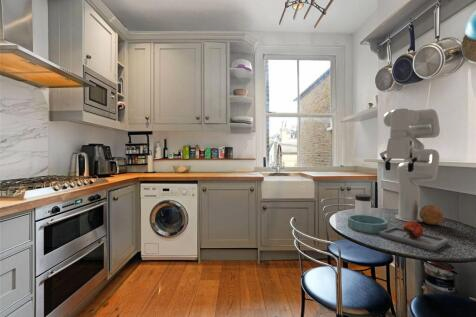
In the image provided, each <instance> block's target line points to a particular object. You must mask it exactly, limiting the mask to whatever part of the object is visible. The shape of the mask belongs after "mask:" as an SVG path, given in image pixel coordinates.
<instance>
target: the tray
mask: <svg viewBox="0 0 476 317" xmlns="http://www.w3.org/2000/svg"><path fill="white" fill-rule="evenodd" d="M378 234H379V235H378V236H379V237H381V238H385V239H388V240H392V241H395V242H398V243H400V244H406V245H409V246H413V247H416V248H419V249H422V250H427V251H430V252H432V253H433V252H436V251H438V250H439V249H441V248H443V247H445V246H446V245H449V239H448V238H445V237H442V236H441V237H440V236H436V235H432V234H427V233H424V232H423V235H422V236H421V237H420V238H414V237H411V236H409V235H407V236H405V235H406V234H407V232H406V231H405V230H404V229H403V228H402V227H398V226H392V227H389V228H387V229H386V230H383V231H380V232H379V233H378ZM404 236H405V237H404Z"/></svg>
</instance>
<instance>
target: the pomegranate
mask: <svg viewBox="0 0 476 317" xmlns="http://www.w3.org/2000/svg"><path fill="white" fill-rule="evenodd" d="M421 224H422V222H415V221H405V223H404V224H403V229H404V230H405V231H406V232H407V234H406V235H405V236H407V235H409V236H411V237H414V238H420V237H421V236H422V235H423V233H424V228H423V226H422V225H421ZM405 236H404V237H405Z"/></svg>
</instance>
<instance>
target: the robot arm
mask: <svg viewBox="0 0 476 317" xmlns="http://www.w3.org/2000/svg"><path fill="white" fill-rule="evenodd" d="M439 120H440V119H439V116H438V113H437V111H436V110H435V109H432V108H429V109H428V108H427V109H418V110H415V109H414V110H413V109H408V108H395V109H393V110H391V111H387V112H386V113H385V114H384V116H383V124H384V125H385V126H386V127H388V128H389V127H390V131H389V132H390V133H389V134H390V136H389V138H388V140H387V143H386V145H387V146H386V150H383V151H382V152H380V153H379V155H380V157H381V159H382V160H383V162H384V164H385V165H384V166H385V171H391V160H392V159H393V160H403V162H401V163H399V164H398V165H397V169H396V170H397V177H398V205H397V206H398V211H397V212H398V214H395V216H394V218H395V219H397V220H398V221H403V222H408V221H415V222H417V223H420V222H421V223H422V222H424V221H423V220H422V219H421V218H420V216H419V213H420V204H421V203H420V202H421V201H420V199H421V198H420V197H421V194H420V193H421V188H420V186H419V185H418V183H417V182H416V181H425V182H426V181H428V182H430V181H435V180H436V178H437V176H438V172H439V165H440V154H439V152H438V151H437V150H436V149H434V148H433V149H432V148H427V149H426V148H425V145H424V143H423V142H421V141H420V140H419V139H430V138H432V139H433V138H437V137H439V135H440V133H441V128H440V127H441V126H440V122H439ZM385 155H386V156H385Z"/></svg>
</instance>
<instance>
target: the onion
mask: <svg viewBox="0 0 476 317" xmlns="http://www.w3.org/2000/svg"><path fill="white" fill-rule="evenodd" d="M419 211H420V213H419V217H420V218H421V219H422V220H423V221H422V222H423V223H425V224H427V225H439V224H440V223H442V222H443V220H444V213H443V211H442V210H441V209H440V208H439V207H438V206H435V205H433V204H426V205H423V206H422V207H421V209H419Z"/></svg>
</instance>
